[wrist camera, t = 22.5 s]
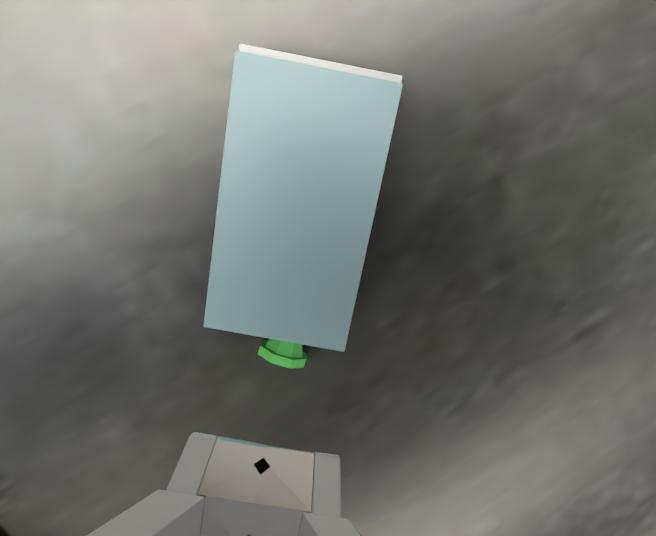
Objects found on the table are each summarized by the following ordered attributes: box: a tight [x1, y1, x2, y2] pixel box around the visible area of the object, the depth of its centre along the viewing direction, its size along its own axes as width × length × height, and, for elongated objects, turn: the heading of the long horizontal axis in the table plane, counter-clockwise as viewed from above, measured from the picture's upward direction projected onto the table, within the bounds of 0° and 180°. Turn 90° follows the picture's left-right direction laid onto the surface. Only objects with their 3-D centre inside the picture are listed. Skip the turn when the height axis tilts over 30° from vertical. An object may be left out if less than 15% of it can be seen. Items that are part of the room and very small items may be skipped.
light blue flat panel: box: [204, 51, 403, 352], centre depth 32 cm, size 18×10×1 cm, turn 170°
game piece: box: [258, 339, 306, 368], centre depth 42 cm, size 4×4×6 cm
